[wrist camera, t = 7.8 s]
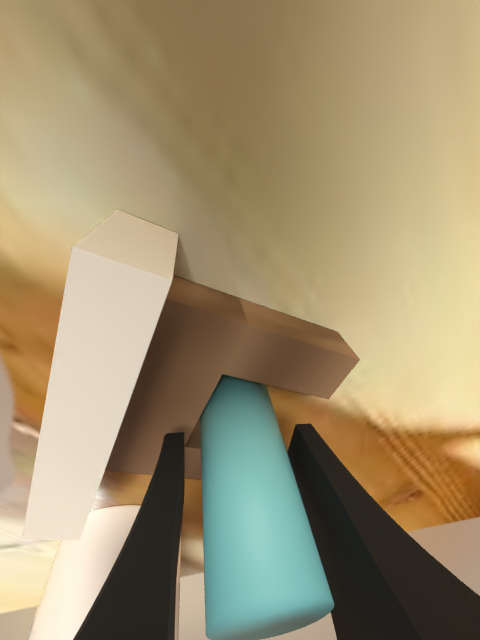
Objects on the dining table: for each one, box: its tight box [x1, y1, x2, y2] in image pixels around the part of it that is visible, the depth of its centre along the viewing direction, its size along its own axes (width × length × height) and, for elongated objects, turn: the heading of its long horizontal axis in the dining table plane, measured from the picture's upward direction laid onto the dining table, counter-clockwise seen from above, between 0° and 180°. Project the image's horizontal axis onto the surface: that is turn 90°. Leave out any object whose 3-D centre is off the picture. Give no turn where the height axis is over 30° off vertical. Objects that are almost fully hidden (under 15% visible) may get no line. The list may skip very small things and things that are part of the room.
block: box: [105, 276, 360, 480], centre depth 12 cm, size 8×9×2 cm
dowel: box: [200, 374, 334, 640], centre depth 10 cm, size 3×3×8 cm
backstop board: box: [22, 210, 179, 540], centre depth 10 cm, size 2×12×4 cm, turn 156°
